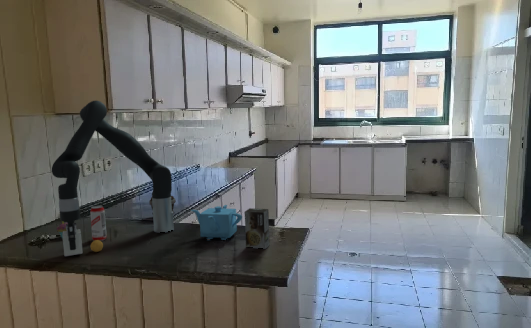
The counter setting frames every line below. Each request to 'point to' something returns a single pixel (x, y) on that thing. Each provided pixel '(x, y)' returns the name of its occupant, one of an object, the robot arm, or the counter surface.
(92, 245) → the ball
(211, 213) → the teakettle
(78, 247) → the grey rectangular block
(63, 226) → the cupcake
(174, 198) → the flowerpot
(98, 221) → the beer can
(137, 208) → the counter surface
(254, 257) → the counter surface
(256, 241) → the coffee box
